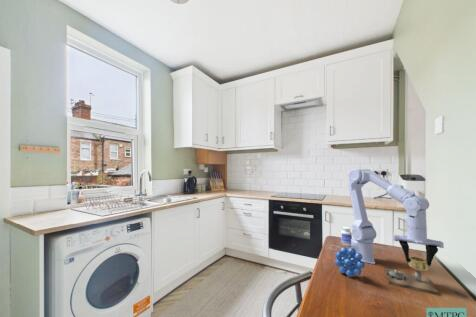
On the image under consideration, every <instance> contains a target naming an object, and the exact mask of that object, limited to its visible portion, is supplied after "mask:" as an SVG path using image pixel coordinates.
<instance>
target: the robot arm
mask: <svg viewBox="0 0 476 317" xmlns="http://www.w3.org/2000/svg"><path fill="white" fill-rule="evenodd" d="M347 177H348V184H347V186H348V190H349V191H348V192H349V196H350V201H351V206H352V212H353V215H354V222H353V223H352V227H351V228H352V229H351V233H352V237H353V238H352V239H351V246H350V247H352V248H354V249H355V250H356V253H360V254H362V260H360V261H363V262H364V263H365V264H366V263H367V264H372V265H376V261H375V258H374V241H375V239H376V238H377V232H376V229H375V227H374V226H373V223H372V222H371V221H370V220H369V219H368V215H367V209H366V205H365V200H364V196H363V190H362V188H363V187H364V186H365V185H366V184H367V183H369V182H371V183H372V184H375V185H377V186H378V187H380V188H382V189H383V190H385V191H387V195H388V196H390V197H392V198H393V199H394V200H396V201H397V202H399V203H400V204H402V206H403V208H404V209H405V212H406V229H407V230H406V231H407V235H399V234H398V235H397V234H393V235H392V237H393V241H394V242H398V243H399V244H400V246H401V248H402V251H403V254H404V257H405V261H406V262H407V263H408V262H409V256H410V255H409V254H410V245H409V244H415V245H422V246H425V252H426V253H425V254H426V255H425V256H426V257H425V259H426V260H427V261H428V267H431V266H432V262H433V260H434V257H435V256H436V255H437V253H438V252H439V248H440V249H444V247H445V246H444V242H443V241H441V240H434V239H430V238H428V235H427V234H428V233H427V232H428V229H427V227H428V226H427V210H428V209H429V207H430V203H429V201H428V199H427V198H425V197H424V196H423V195H416V193H415V192H413V191H410V190H408V189H406V188H404V187H405V186H404V185H402V184H392V183H391V182H389V181H387V180H386V179H384V177H381V175H379V174H377V173H376V172H375V171H374V170H371V169H370V168H352V169H350V171H349V173H348V174H347Z"/></svg>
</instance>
